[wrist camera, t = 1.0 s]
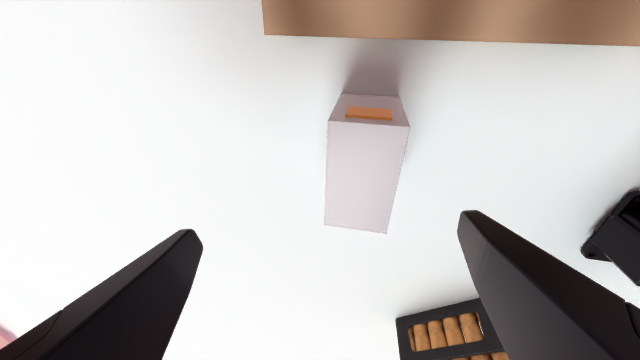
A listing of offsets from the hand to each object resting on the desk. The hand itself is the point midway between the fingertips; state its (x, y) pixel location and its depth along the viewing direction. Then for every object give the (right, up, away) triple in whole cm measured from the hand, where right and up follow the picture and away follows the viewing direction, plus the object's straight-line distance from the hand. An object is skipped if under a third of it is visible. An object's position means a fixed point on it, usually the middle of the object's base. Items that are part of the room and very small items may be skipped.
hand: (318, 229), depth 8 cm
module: (+3, +5, +11) cm, 12 cm away
